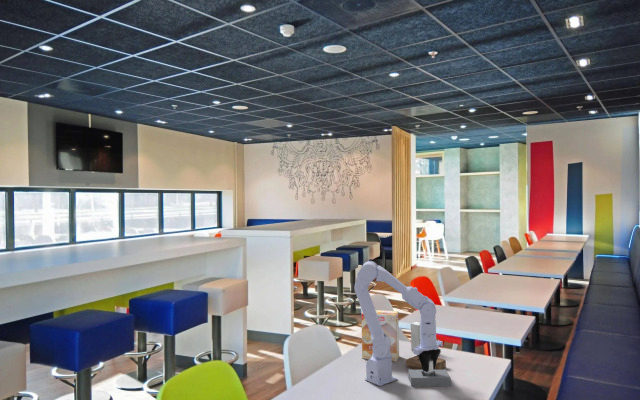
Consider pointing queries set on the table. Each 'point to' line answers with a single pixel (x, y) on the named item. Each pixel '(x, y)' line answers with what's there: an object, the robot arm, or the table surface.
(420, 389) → the table surface
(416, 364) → the walnut seat block
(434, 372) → the bored beam
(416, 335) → the skincare box
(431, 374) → the metal axle
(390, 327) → the coffeecake box
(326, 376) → the table surface
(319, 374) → the table surface
